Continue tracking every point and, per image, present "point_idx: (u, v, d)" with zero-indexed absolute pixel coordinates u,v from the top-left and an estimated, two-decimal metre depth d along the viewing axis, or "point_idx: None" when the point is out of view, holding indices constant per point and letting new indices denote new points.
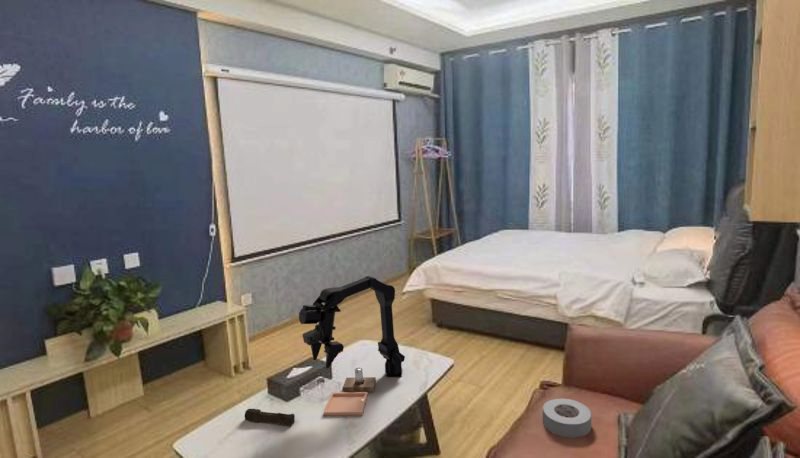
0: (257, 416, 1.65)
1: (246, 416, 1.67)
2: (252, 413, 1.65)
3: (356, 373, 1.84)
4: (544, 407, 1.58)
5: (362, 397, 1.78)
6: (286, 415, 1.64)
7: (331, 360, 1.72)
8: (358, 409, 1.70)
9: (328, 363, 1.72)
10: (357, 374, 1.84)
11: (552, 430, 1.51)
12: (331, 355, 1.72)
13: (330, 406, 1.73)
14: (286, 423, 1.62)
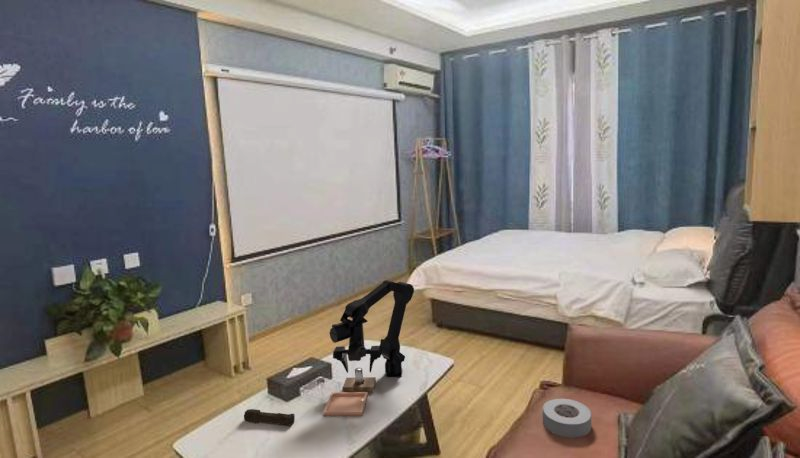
0: (256, 417, 1.65)
1: (245, 417, 1.66)
2: (251, 414, 1.65)
3: (356, 373, 1.84)
4: (544, 407, 1.58)
5: (362, 397, 1.78)
6: (286, 415, 1.64)
7: (372, 364, 1.85)
8: (358, 409, 1.70)
9: (371, 367, 1.85)
10: (357, 374, 1.84)
11: (552, 430, 1.51)
12: None
13: (330, 406, 1.73)
14: (286, 423, 1.62)
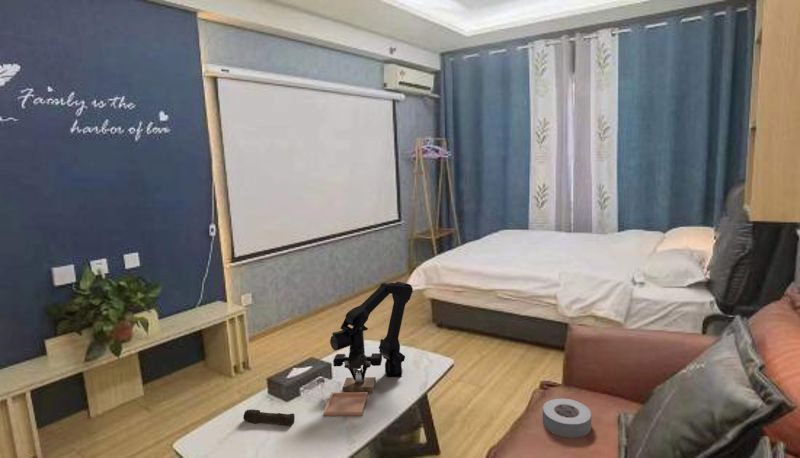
0: (256, 417, 1.64)
1: (245, 417, 1.66)
2: (251, 414, 1.65)
3: (356, 373, 1.84)
4: (544, 407, 1.58)
5: (362, 397, 1.78)
6: (286, 415, 1.64)
7: None
8: (358, 409, 1.70)
9: (364, 375, 1.85)
10: (357, 374, 1.84)
11: (552, 430, 1.51)
12: None
13: (330, 406, 1.73)
14: (286, 423, 1.62)
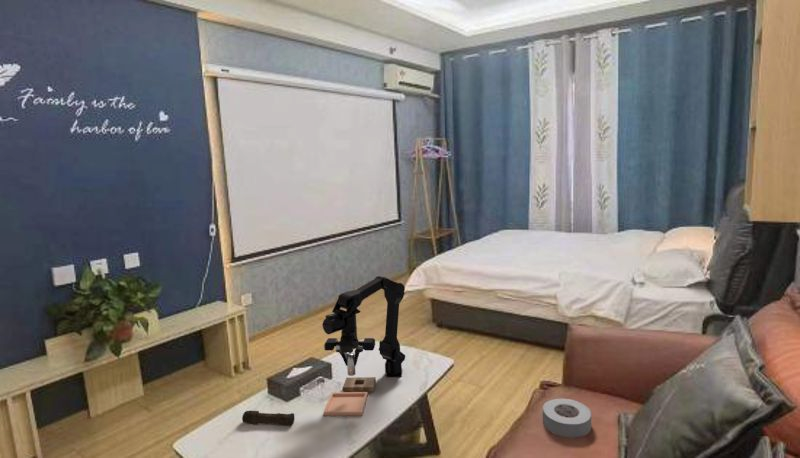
0: (256, 418, 1.64)
1: (244, 418, 1.65)
2: (250, 415, 1.64)
3: (348, 358, 1.77)
4: (544, 407, 1.58)
5: (362, 397, 1.78)
6: (286, 415, 1.64)
7: None
8: (358, 409, 1.70)
9: None
10: (349, 359, 1.77)
11: (552, 430, 1.51)
12: None
13: (330, 406, 1.73)
14: (286, 423, 1.62)
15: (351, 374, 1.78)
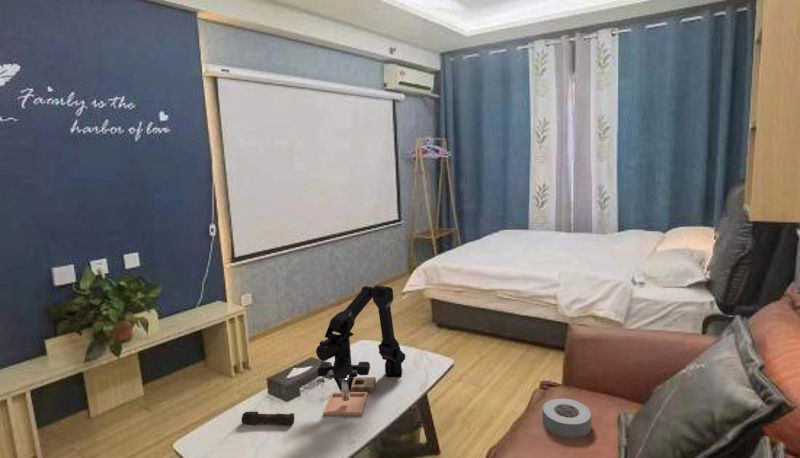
0: (255, 418, 1.64)
1: (243, 419, 1.65)
2: (250, 416, 1.64)
3: (342, 383, 1.71)
4: (544, 407, 1.58)
5: (362, 397, 1.78)
6: (286, 415, 1.64)
7: (352, 381, 1.73)
8: (358, 409, 1.70)
9: (351, 385, 1.72)
10: (343, 384, 1.71)
11: (552, 430, 1.51)
12: None
13: (330, 406, 1.73)
14: (287, 423, 1.62)
15: (346, 399, 1.72)
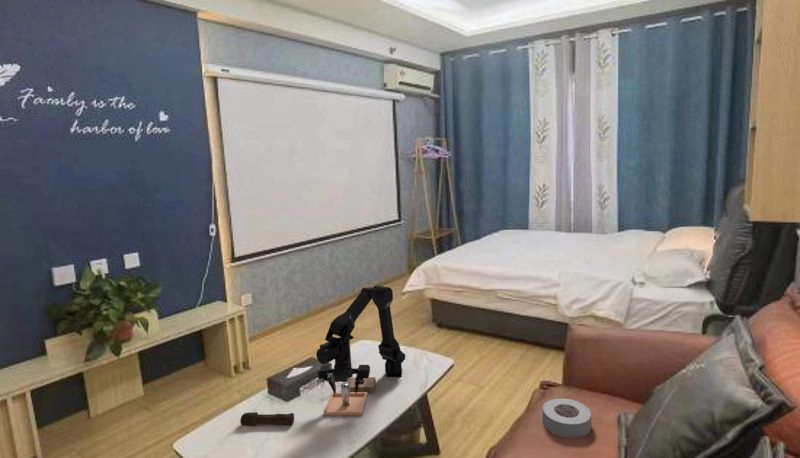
0: (255, 419, 1.63)
1: (242, 421, 1.64)
2: (249, 417, 1.63)
3: (342, 388, 1.72)
4: (544, 407, 1.58)
5: (362, 397, 1.78)
6: (286, 415, 1.64)
7: None
8: (358, 409, 1.70)
9: (357, 388, 1.72)
10: (343, 390, 1.72)
11: (552, 430, 1.51)
12: None
13: (330, 406, 1.73)
14: (287, 423, 1.62)
15: (346, 405, 1.73)
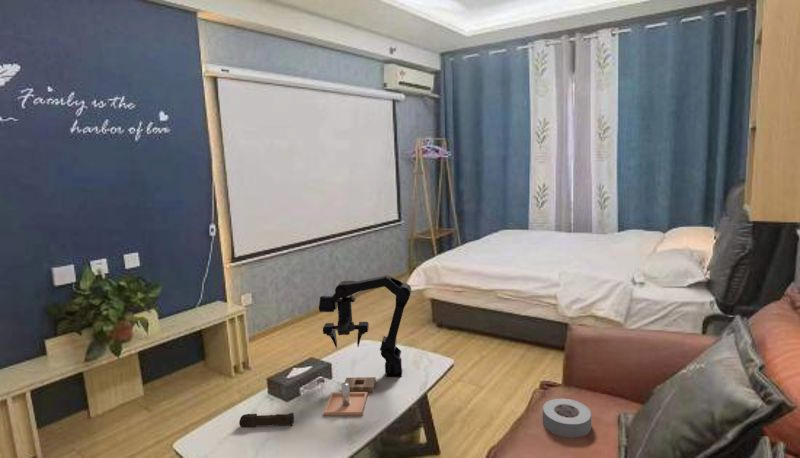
0: (254, 420, 1.62)
1: (242, 422, 1.63)
2: (249, 418, 1.62)
3: (342, 388, 1.72)
4: (544, 407, 1.58)
5: (362, 397, 1.78)
6: (286, 415, 1.64)
7: None
8: (358, 409, 1.70)
9: (359, 342, 1.97)
10: (343, 390, 1.72)
11: (552, 430, 1.51)
12: None
13: (330, 406, 1.73)
14: (287, 423, 1.62)
15: (346, 405, 1.73)
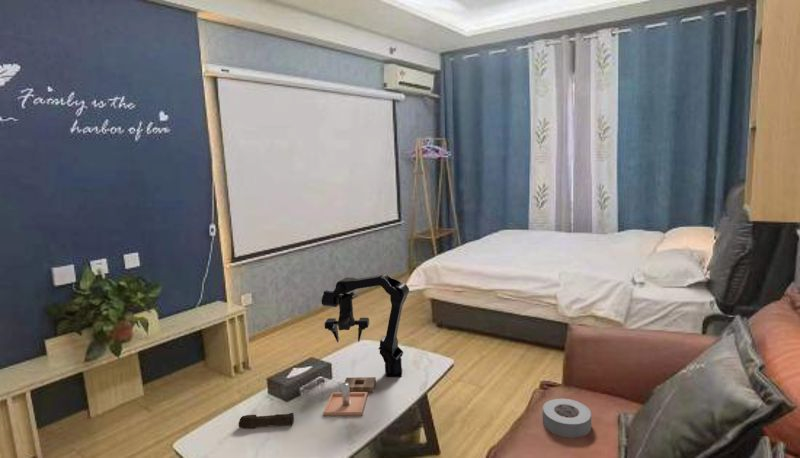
0: (254, 421, 1.62)
1: (241, 424, 1.62)
2: (248, 419, 1.62)
3: (342, 388, 1.72)
4: (544, 407, 1.58)
5: (362, 397, 1.78)
6: (286, 415, 1.64)
7: None
8: (358, 409, 1.70)
9: None
10: (343, 390, 1.72)
11: (552, 430, 1.51)
12: None
13: (330, 406, 1.73)
14: (287, 422, 1.63)
15: (346, 405, 1.73)
